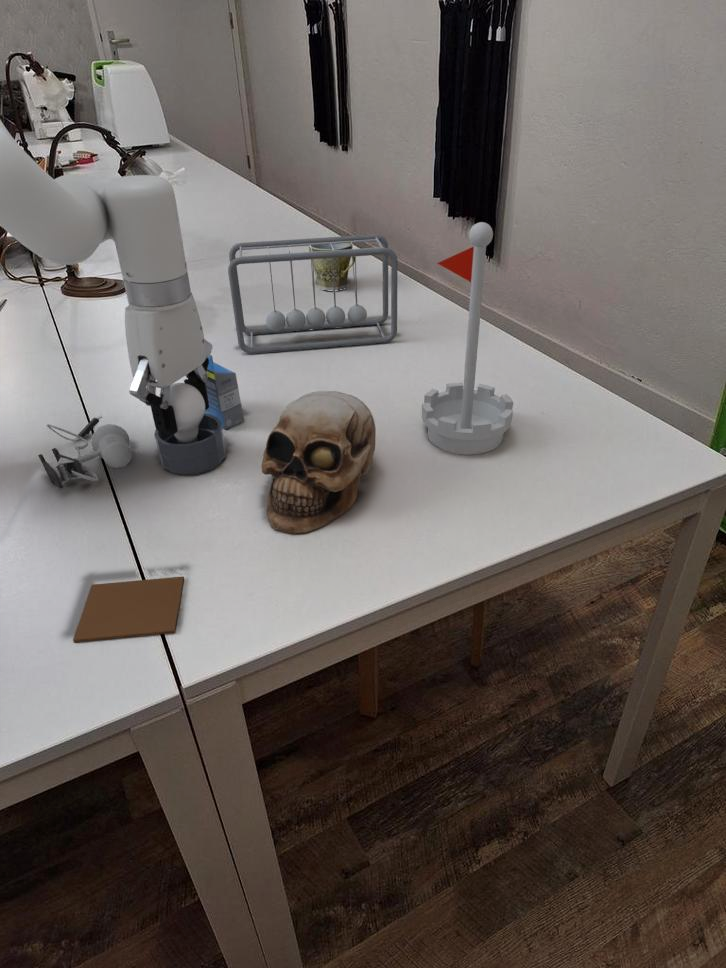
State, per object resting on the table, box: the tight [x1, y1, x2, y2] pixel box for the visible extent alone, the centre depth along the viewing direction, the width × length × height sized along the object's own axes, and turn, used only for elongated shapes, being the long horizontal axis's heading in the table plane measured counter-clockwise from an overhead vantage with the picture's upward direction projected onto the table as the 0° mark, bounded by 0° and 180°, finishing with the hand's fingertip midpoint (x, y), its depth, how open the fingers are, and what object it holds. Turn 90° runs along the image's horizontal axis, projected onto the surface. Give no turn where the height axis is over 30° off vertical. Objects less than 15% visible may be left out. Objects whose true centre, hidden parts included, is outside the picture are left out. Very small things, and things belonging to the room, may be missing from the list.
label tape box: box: [204, 354, 245, 430], centre depth 99 cm, size 9×4×12 cm, turn 44°
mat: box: [72, 576, 185, 644], centre depth 69 cm, size 10×8×1 cm
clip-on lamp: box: [37, 415, 133, 490], centre depth 91 cm, size 12×6×18 cm
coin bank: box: [260, 390, 377, 535], centre depth 83 cm, size 16×17×13 cm
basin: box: [153, 414, 227, 476], centre depth 91 cm, size 9×9×5 cm
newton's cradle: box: [227, 233, 399, 355], centre depth 123 cm, size 30×10×18 cm, turn 98°
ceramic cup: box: [308, 243, 355, 291], centre depth 149 cm, size 13×10×10 cm
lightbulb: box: [157, 382, 205, 444], centre depth 89 cm, size 6×6×11 cm
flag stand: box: [421, 221, 514, 456], centre depth 88 cm, size 13×13×30 cm
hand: (183, 418), depth 89 cm, fingers closed on lightbulb, 6 cm apart
